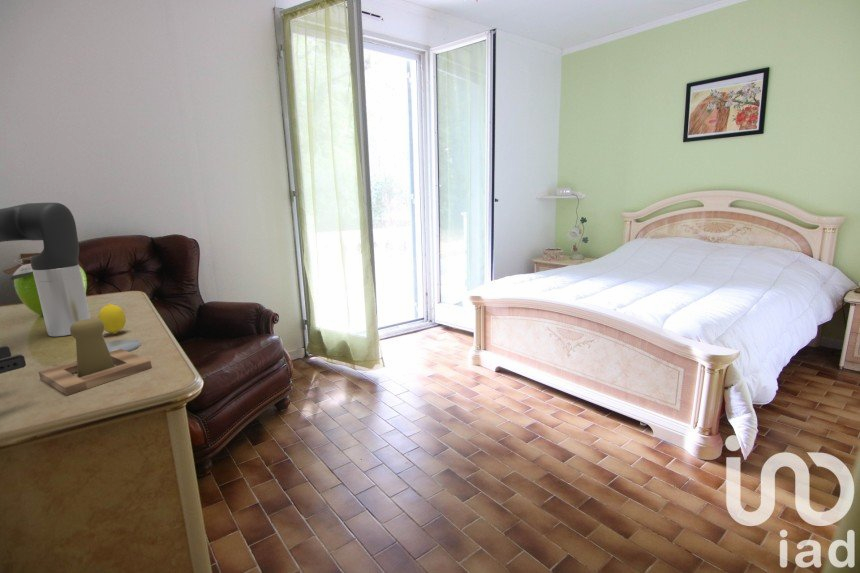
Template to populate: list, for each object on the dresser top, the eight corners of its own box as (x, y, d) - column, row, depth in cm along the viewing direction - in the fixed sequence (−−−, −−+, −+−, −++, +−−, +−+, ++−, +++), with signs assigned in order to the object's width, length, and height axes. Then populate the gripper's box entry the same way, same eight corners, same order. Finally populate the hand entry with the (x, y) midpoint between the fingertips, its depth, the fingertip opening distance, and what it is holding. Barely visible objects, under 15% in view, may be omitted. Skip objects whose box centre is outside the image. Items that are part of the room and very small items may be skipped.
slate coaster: (80, 352, 99) (79, 349, 99) (129, 338, 107) (129, 336, 107) (98, 360, 93) (97, 357, 93) (148, 345, 101) (148, 343, 101)
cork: (85, 382, 82) (73, 326, 80) (72, 376, 86) (59, 322, 83) (121, 370, 87) (110, 317, 85) (107, 365, 91) (96, 314, 88)
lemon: (114, 337, 108) (108, 306, 106) (96, 337, 109) (89, 306, 107) (133, 330, 113) (127, 301, 112) (116, 330, 115) (109, 300, 113)
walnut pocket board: (40, 378, 85) (38, 371, 84) (121, 355, 96) (120, 348, 96) (66, 395, 77) (65, 387, 77) (151, 367, 88) (150, 360, 88)
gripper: (-134, 378, 58) (24, 341, 72) (-145, 359, 66) (-1, 328, 79) (-116, 429, 60) (35, 384, 73) (-129, 404, 68) (10, 367, 81)
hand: (16, 355), depth 76 cm, fingers open, 8 cm apart
